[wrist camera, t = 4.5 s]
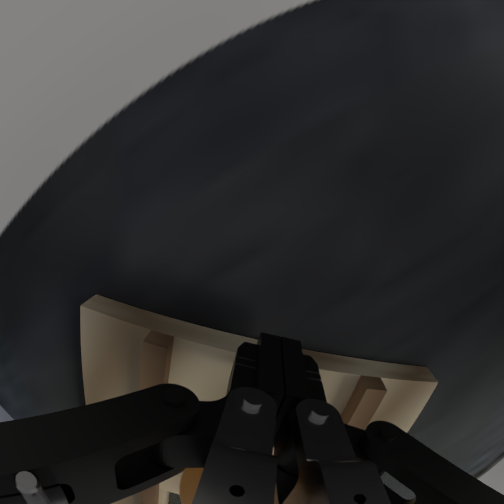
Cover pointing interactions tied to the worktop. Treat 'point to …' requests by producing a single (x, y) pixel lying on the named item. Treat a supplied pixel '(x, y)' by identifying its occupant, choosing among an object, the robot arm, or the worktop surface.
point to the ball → (189, 484)
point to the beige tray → (226, 371)
